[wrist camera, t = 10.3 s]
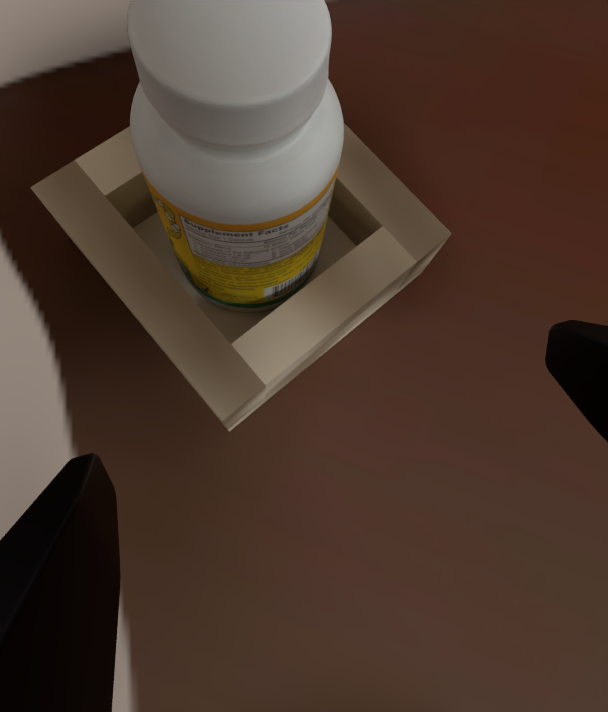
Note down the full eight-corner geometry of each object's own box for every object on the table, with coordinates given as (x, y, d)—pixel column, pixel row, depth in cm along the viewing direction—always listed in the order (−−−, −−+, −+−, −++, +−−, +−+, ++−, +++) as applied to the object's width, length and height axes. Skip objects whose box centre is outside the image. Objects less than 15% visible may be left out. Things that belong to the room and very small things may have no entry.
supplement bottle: (309, 325, 18) (353, 161, 9) (165, 304, 18) (55, 114, 9) (325, 198, 19) (377, -60, 10) (191, 178, 19) (121, -103, 10)
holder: (229, 431, 18) (221, 421, 14) (69, 236, 19) (30, 187, 16) (421, 273, 20) (451, 233, 17) (265, 108, 21) (265, 42, 18)
